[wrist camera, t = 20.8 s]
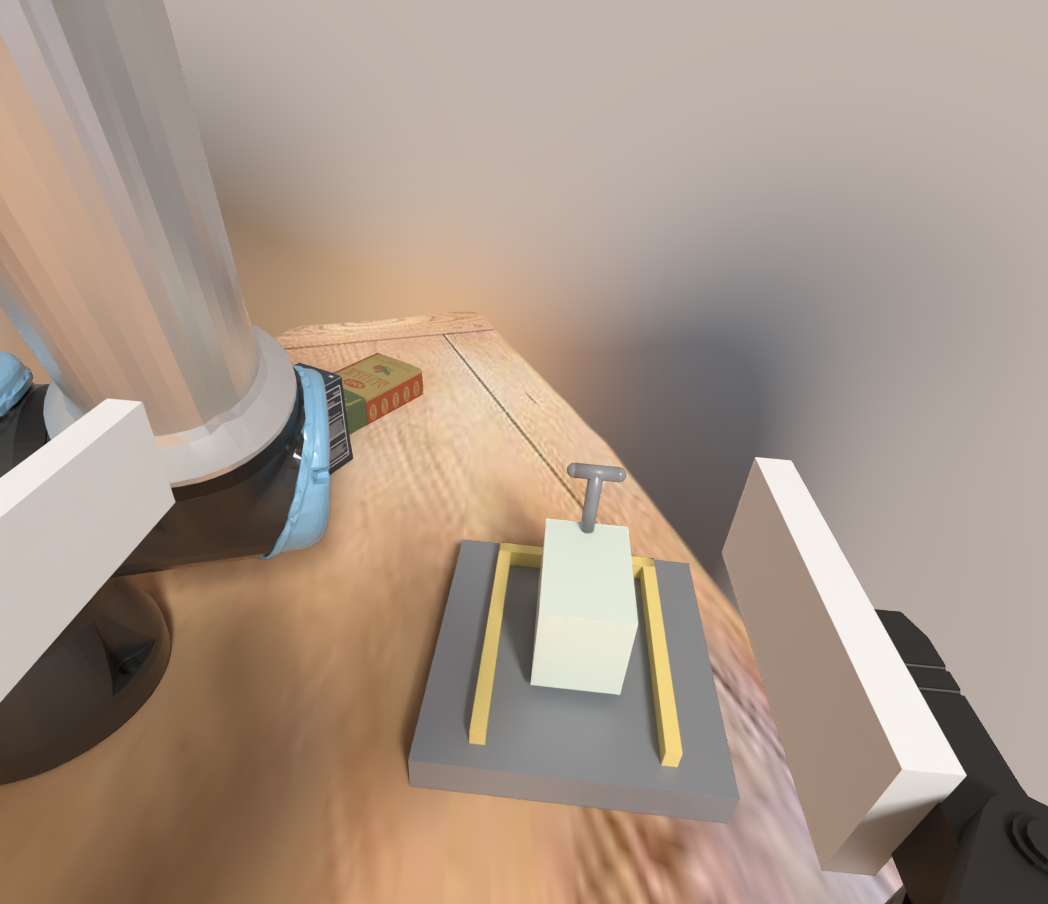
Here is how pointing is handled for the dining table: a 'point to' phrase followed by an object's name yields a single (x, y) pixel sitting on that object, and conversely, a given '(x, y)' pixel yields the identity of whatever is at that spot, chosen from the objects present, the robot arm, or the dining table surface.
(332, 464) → the small box
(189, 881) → the dining table surface
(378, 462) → the dining table surface
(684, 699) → the dock
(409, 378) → the carton
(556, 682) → the plunger detonator box
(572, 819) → the dining table surface
